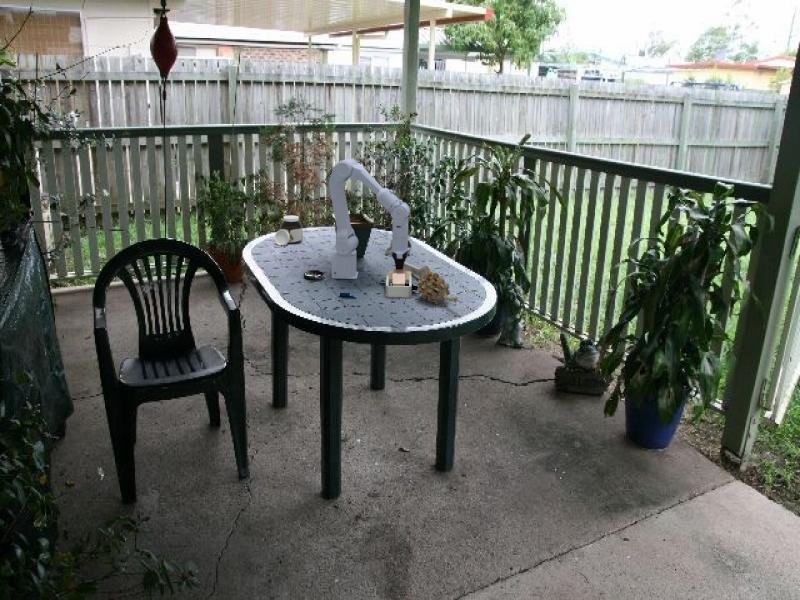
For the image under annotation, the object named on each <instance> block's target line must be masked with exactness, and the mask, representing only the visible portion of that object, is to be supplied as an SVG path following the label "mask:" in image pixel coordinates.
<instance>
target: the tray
mask: <svg viewBox="0 0 800 600" xmlns="http://www.w3.org/2000/svg"><path fill="white" fill-rule="evenodd" d="M412 282H413V281H412V275H411V276H409V286H389V275H387V274H386V281H385V298H398V297H401V298H402V299H404V298H405V299H406V298H407V299H409V298H410V299H412Z"/></svg>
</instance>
